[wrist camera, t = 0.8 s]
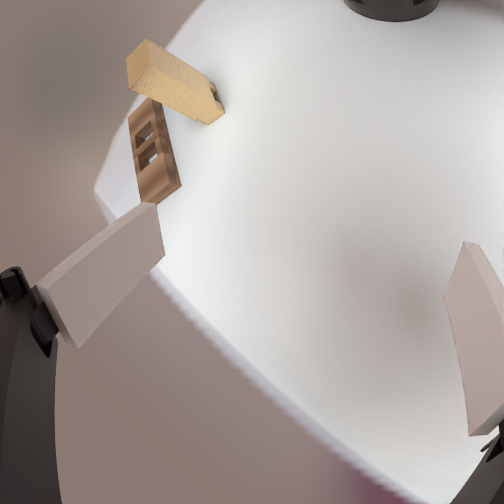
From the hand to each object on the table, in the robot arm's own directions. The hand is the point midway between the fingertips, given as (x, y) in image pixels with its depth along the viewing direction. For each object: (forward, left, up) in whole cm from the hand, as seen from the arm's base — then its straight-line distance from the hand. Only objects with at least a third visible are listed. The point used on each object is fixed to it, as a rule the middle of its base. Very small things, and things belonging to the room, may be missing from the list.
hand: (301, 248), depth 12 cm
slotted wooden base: (-11, -38, -21) cm, 45 cm away
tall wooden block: (-19, -27, -21) cm, 39 cm away
